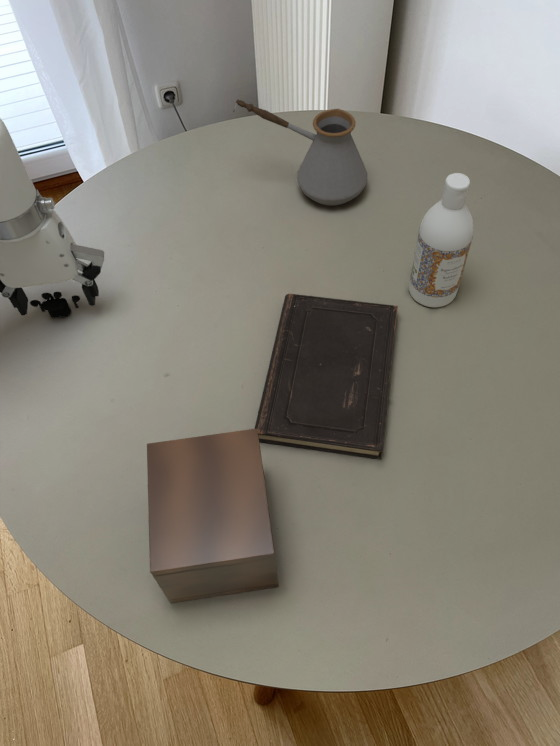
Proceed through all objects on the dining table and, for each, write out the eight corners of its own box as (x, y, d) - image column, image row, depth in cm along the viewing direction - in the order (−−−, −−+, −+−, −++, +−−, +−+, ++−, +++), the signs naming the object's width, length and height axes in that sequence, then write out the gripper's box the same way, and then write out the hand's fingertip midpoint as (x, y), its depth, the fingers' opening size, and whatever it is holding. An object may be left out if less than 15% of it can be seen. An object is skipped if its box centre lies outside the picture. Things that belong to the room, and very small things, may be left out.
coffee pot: (371, 171, 110) (378, 90, 98) (360, 218, 104) (367, 137, 92) (249, 158, 113) (241, 77, 101) (232, 202, 107) (222, 121, 95)
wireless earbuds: (86, 308, 95) (75, 285, 91) (85, 321, 94) (74, 299, 90) (38, 313, 95) (25, 291, 91) (36, 327, 94) (23, 304, 89)
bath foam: (419, 314, 92) (443, 205, 76) (400, 279, 96) (420, 168, 80) (464, 302, 93) (497, 192, 77) (444, 269, 97) (472, 157, 81)
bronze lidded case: (170, 603, 71) (149, 572, 62) (165, 486, 79) (146, 443, 70) (278, 587, 72) (274, 553, 62) (263, 472, 79) (257, 428, 70)
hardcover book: (395, 316, 92) (397, 305, 91) (381, 459, 80) (382, 450, 78) (285, 303, 95) (284, 292, 93) (253, 441, 82) (252, 432, 80)
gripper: (83, 181, 80) (119, 275, 95) (-57, 201, 80) (0, 291, 94) (82, 224, 76) (120, 314, 91) (-66, 244, 76) (-5, 332, 90)
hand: (59, 303), depth 92 cm, fingers open, 9 cm apart
